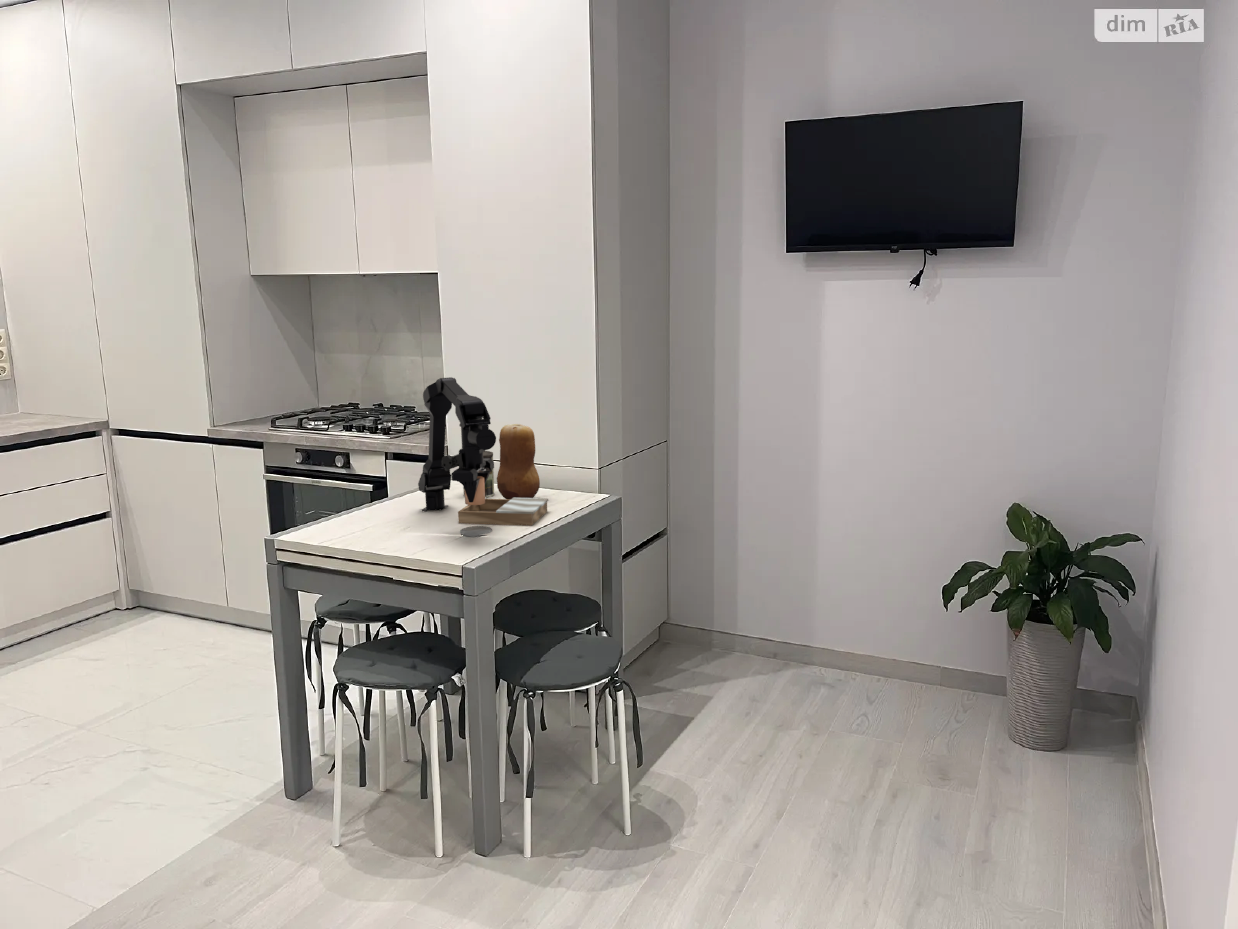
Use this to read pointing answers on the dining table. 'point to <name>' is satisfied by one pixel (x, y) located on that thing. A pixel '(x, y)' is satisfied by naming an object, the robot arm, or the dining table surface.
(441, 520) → the dining table surface
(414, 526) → the dining table surface
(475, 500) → the tan cylinder
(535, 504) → the box
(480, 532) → the saucer
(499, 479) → the butternut squash
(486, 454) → the coffee can
